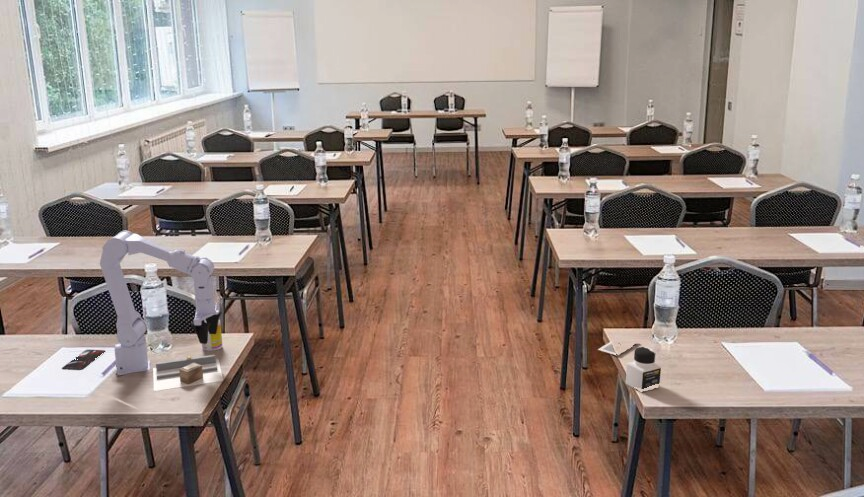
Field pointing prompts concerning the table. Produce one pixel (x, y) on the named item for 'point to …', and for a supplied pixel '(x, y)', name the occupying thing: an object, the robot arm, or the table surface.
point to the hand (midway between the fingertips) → (208, 338)
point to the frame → (191, 373)
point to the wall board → (169, 373)
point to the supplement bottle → (214, 339)
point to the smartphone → (83, 360)
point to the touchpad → (608, 348)
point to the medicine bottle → (643, 369)
